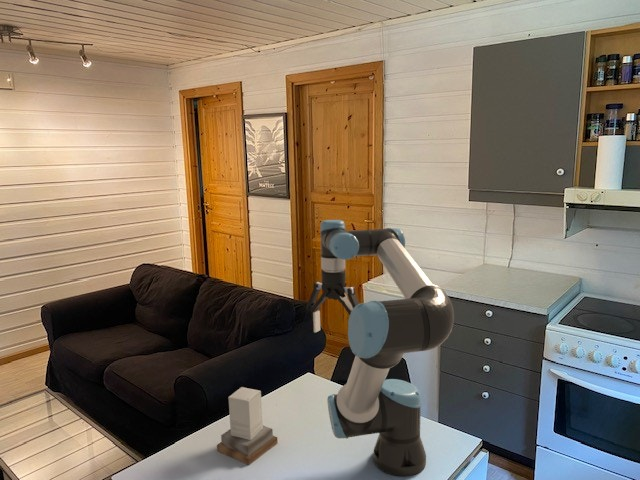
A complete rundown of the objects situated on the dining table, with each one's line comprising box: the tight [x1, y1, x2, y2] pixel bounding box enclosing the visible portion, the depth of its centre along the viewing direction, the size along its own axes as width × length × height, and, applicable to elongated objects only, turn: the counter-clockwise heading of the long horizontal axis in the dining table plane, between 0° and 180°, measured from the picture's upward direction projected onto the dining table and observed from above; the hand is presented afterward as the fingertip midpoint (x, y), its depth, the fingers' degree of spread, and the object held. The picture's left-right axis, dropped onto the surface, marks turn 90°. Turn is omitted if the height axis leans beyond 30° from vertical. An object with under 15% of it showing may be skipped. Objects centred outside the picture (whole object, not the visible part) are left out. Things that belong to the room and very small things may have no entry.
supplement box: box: [227, 386, 264, 440], centre depth 147 cm, size 7×7×13 cm
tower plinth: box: [216, 425, 278, 466], centre depth 149 cm, size 13×13×5 cm
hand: (334, 335), depth 154 cm, fingers open, 13 cm apart
